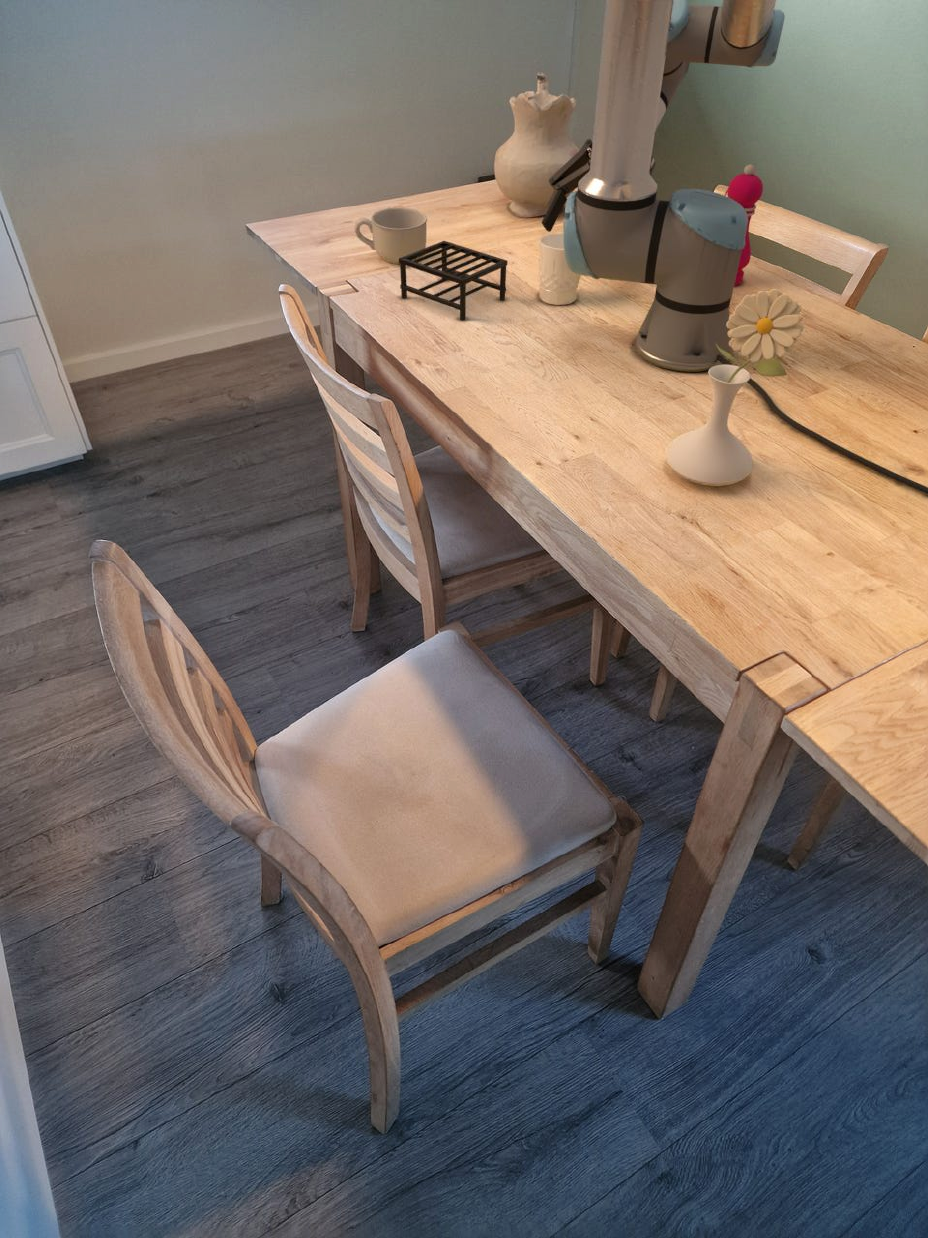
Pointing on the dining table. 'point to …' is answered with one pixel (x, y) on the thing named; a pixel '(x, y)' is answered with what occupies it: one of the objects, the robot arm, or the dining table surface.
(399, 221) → the teacup
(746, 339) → the flower in vase
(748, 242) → the pepper mill
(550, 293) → the white cup
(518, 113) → the ceramic pitcher
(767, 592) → the dining table surface
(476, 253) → the wire rack
